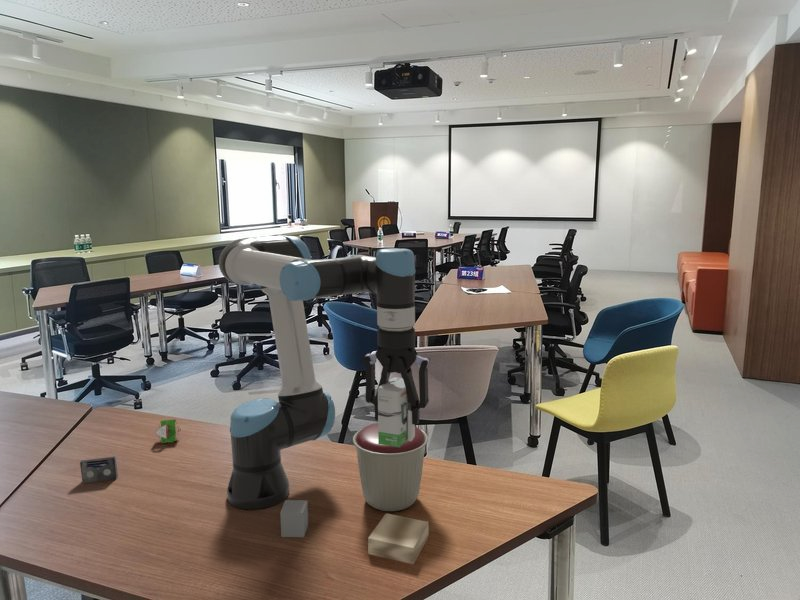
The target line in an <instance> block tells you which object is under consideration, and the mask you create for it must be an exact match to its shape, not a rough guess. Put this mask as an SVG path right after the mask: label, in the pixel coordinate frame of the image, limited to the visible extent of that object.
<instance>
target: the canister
mask: <svg viewBox="0 0 800 600" xmlns="http://www.w3.org/2000/svg"><path fill="white" fill-rule="evenodd" d="M428 442H429V436H428V434H427V433H426V432H425V431H424V430H423V429H422V428H419V427H417V426H416V425H415V437H414V438H413V440H412V441H408V440H407V441H406V442H405V443H403V444H402V445H401V446H400V447H394V446H388V445H382V444H378V422H375V423H372V424H369V425H367V426H364V427H363V428H361V429H359V430H358V431H357V432H355V434H353V437H352V443H353V446H354V447H355V448H356V457H357V463H358V464H357V465H358V471H359V478H360V483H361V491H362V494H363V498H364V500H365V501H366V503H367V504H368V505H369V506H371V507H372V508H374V509H376V510H380V511H382V512H398V511H402V510H405V509H408V508H410V507H411V506H412V505H413V504H414V503H415V502H416V501H417V499H418V497H419V494H420V488H421V481H422V475H423V465H424V458H425V449H426V446H427V444H428Z"/></svg>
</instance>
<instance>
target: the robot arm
mask: <svg viewBox="0 0 800 600" xmlns="http://www.w3.org/2000/svg"><path fill="white" fill-rule="evenodd" d="M375 255H376V256H371V255H365V254H349V255H347V256H345V257H336V258H335V257H334V258H328V259H326V258H325V259H312V256H311V252H310V250H309V248H308V246H307V245H306V243H305V242H304V241H303V240H302V239H301V238H300V237H297V236H293V235H276V236H275V235H274V236H262V237H261V236H259V237H245V238H244V237H243V238H239V239H236V240H234V241H232V242H230V243H229V244H227V245H226V246H225V247H224V248H223V249H222V251H221V253H220V254H219V258H218V267H219V271H220V273H221V275H222V276H223V277H224V279H226V280H228V281H229V282H230V283H232V284H233V283H234V284H236V285H240V286H249V285H251V284H252V285H253V284H254V285H258V286H260V289H261V291H262V292H263V293H264V294H265V295H266V296H267V298H268V302H269V307H270V314H271V321H272V329H273V333H274V334H273V335H274V341H275V347H276V352H277V358H278V359H277V360H278V366H279V371H280V372H279V373H280V377H281V384H282V387H281V388H280V390H279V391H278V392H277V397H278V401H276V400H275V399H273V398H269V397H264V398H261V399H260V398H256V399H251V400H249V401H246V402H244V403H241V404H240V405H238V406H237V407H236V408H235V409H234V410H233V411H232V413H231V415H230V422H229V423H230V427H229V433H230V441H231V442H230V443H231V455H232V456H231V458H232V471H231V475H230V477H229V482H228V485H227V487H226V489H227V491H226V496H227V501H228V503H229V504H230V505H231V506H233V507H234V508H238V509H241V510H261V509H266V508H269V507H273V506H275V505H278V504H279V503H281V502H283V501H285V499H286V498H287V497H288V495H289V493H290V482H289V478H288V477H287V474H286V472H285V468H284V466H283V464H282V457H281V451H282V450H285V449H287V448H288V449H289V448H291V447H295V446H298V445H301V444H304V443H307V442H310V441H316V440H318V439H320V438H322V437H325V436H327V435H329V433H330V432H331V431H332V428H334V426H335V425H334V424H335V420H336V407H335V403H334V401H333V399H332V396H331V394H329V393H328V391H324V389H323V385H322V384H321V383H319V382H317V380H316V376H315V370H314V363H313V356H312V351H311V350H312V349H311V345H310V344H311V343H310V337H309V333H308V332H309V331H308V327H307V325H308V324H307V319H306V313H305V312H306V311H305V307H304V301H309V300H310V301H311V300H313V299H322V298H328V297H335V296H336V297H337V296H343V295H352V294H360V293H369V294H373V295H376V314H377V315H376V316H377V317H376V320H377V323H376V324H377V326H378V328H377V330H376V331H377V335H376V337H377V348H376V351H375V352H374V353H372V352H368V353H367V354H365V356H363V358H362V360H363V363H364V367H365V402H366V403H368V404H369V403H370V404H372V405H373V406H374V419H375V421H377V422H378V388H379V386H381V385H382V384H386V383H387V382H388V381H389V380H390V376H391V374H393V373H397V374H400V375H401V376H400V377H401V378H403V380H404V384H405V387H406V391H407V394H408V398H409V402H410V405H411V407H410V408H409V409H408V441H412V440H413V438H414V437H415V426H416V425H418V424H419V422H420V419H421V418H420V410H421V409H425V408H426V407H427V405H428V404H429V375H428V374H429V373H428V372H429V371H428V370H429V366H430V363H431V359H430V357H428V356H427V357H423V356H420V355H418V352H417V350H416V329H415V327H414V326H415V325H416V304H415V302H416V300H415V299H416V297H415V295H416V272H417V271H416V266H415V254H414V252H413V250H411V249H408V248H397V247H395V248H394V247H393V248H381V249H378V250H377V252H376V254H375ZM377 360H378V362H379V363H380V365H381V367H382V370H381V373H380V379H379V382H378V386H377V390H376V363H377ZM415 362H416V366H417V368H418V384H419V385H418V386H419V387H418V390H419V395H418V391H417V387H416V382H415V383H414V380H415V379H414V376H413V370H412V365H413V364H414V363H415Z"/></svg>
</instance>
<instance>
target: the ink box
mask: <svg viewBox="0 0 800 600" xmlns="http://www.w3.org/2000/svg"><path fill="white" fill-rule="evenodd" d="M413 380H414V383H415V384H416V380H415V379H413ZM378 386H379V385H378ZM377 390H378V421H377V423H378V444H382V445H388V446H394V447H400V446H401V445H402V444H403V443H405V442H406V441H407V440H408V409H409V408H410V407H411V405H410V402H409V398H408V394H407V391H406V387H405V384H404V380H403V378H402V377H399V376H398V377H397V376H395V377H394V376H393V377H392V378H391V379H390V378H389V381H388V382H387V383H386V384H382V385H381V386H379V388H378V387H377Z"/></svg>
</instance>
